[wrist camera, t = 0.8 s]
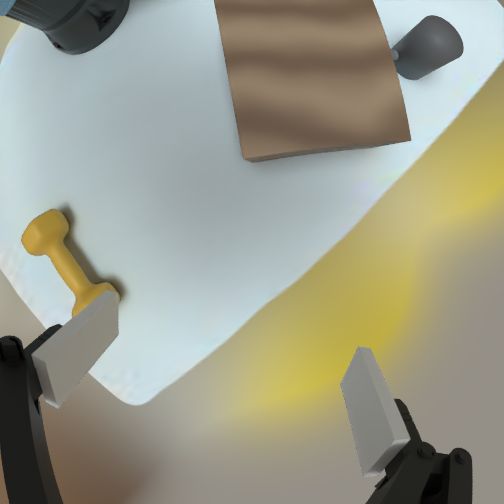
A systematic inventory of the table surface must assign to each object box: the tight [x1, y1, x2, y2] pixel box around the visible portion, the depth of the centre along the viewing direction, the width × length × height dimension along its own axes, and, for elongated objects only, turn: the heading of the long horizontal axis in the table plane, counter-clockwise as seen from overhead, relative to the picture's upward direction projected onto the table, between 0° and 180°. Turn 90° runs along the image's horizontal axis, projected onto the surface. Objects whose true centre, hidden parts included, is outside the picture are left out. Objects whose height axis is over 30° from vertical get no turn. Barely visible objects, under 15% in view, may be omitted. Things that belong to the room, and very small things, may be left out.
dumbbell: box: [21, 209, 120, 318], centre depth 39 cm, size 19×9×8 cm, turn 35°
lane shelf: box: [214, 0, 411, 163], centre depth 28 cm, size 18×16×12 cm
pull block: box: [391, 15, 463, 80], centre depth 26 cm, size 6×19×11 cm, turn 100°
